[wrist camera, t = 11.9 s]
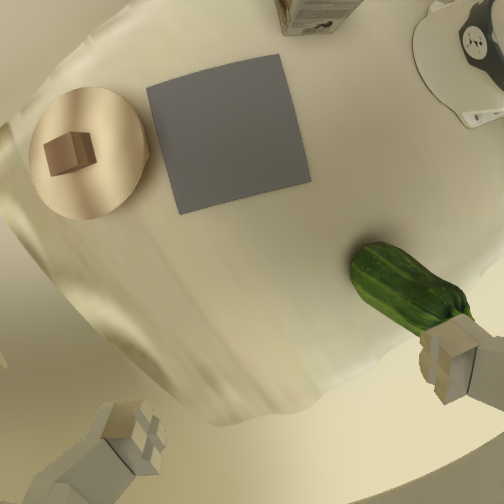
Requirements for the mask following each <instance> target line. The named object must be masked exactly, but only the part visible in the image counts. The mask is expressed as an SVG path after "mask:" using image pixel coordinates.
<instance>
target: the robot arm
mask: <svg viewBox="0 0 504 504" xmlns="http://www.w3.org/2000/svg"><path fill="white" fill-rule="evenodd" d="M413 52H414V58H415V61H416V65H417V67H418V70H419V72H420V74H421V76H422V78H423V80H424V82H425V83H426V85H427V86H428V88H429V89H430V90H431V92H432V93H433V94H434V95H435V96H436V97H437V98H438V99H439V100H440V101H441V102H442V103H443V104H445V105H446V106H448V107H449V108H450V109H452V110H453V111H454V112H455V113H456V114H457V116H458V117H459V119H460V120H461V121H462V123H463V124H464V125H465V126H466V127H467V128H475V127H478V126H480V125H483V124H485V123H487V122H490V121H492V120H495V119H497V118H500V117H502V116H504V0H480V1H478V0H457V1H455V2H452V3H450V4H445V3H442V2H439V1H435V2H432V3H431V4H430V5H429V8H428V13H427V16H426V17H425V18H424V19H423V20H422V21H421V22H420V23H419V24H418V26H417V27H416V29H415V32H414V36H413ZM475 117H476V119H475ZM420 344H421V345H422V346H423V347H424V348H423V349H422V351H421V353H420V354H419V365H420V369H421V373H422V375H423V377H424V379H425V380H426V381H427V383H430V384H433V385H435V389H434V392H435V393H436V395H437V396H438V397H439V399H440V400H441V402H442V403H443V404H444V405H446V404H448V403H450V402H453V401H455V400H457V399H459V398H461V397H463V396H465V395H467V394H468V396H470V397H472V398H474V399H476V400H478V401H481V402H483V403H485V404H488V405H490V406H493V407H495V408H497V409H499V410H501V411H504V337H500V336H496V337H495V338H493V337H492V336H491V335H490V334H489V333H487V332H486V331H485V330H484V329H483V328H481V327H480V326H479V325H478V324H477V323H475V322H474V321H473V320H472V319H471V318H469V317H468V316H467V315H465V314H460V315H458V316H456V317H454V318H451V319H449V320H448V321H446V322H443V323H441V324H438V325H436V326H434V327H431V328H429V329H426V330H424V331H422V332H421V335H420ZM153 411H154V408H153V407H152V405H151V404H150V402H149V401H146V400H139V401H126V402H117V403H104V404H103V405H101V406H100V408H99V410H98V413H97V415H96V417H95V419H94V422H93V424H92V426H91V428H90V431H89V433H88V435H87V438H86V439H81V440H80V441H79V442H78V443H76V444H75V445H74V446H73V447H71V448H70V449H69V450H67V451H66V452H65V453H64V454H62V455H61V456H60V457H59V458H57V459H56V460H55V461H53V462H52V463H51V464H50V465H48V466H47V467H46V468H44V469H43V470H42V471H41V472H39V473H38V474H37V475H35V476H34V477H33V479H32V481H31V483H30V486H29V488H28V490H27V492H26V494H25V497H24V499H23V501H22V503H21V504H114V503H115V502H116V501H117V499H118V498H119V497H120V495H122V493H123V492H124V491H125V490H126V489H127V487H128V486H129V485H130V484H131V482H132V481H133V480H134V479H135V476H148V475H160V474H161V469H162V463H163V457H162V456H161V454H160V452H161V451H162V450H163V449H164V448H165V447H166V441H167V439H166V431H165V428H164V425H163V423H162V422H161V420H160V419H159V418H157V417H156V416H154V415H153ZM0 504H16V503H13V502H10V501H7V500H4V499H1V498H0ZM349 504H504V432H502V433H501V434H499V435H498V436H496V437H495V438H493V439H492V440H490V441H489V442H487V443H485V444H483V445H482V446H480V447H478V448H477V449H475V450H473V451H471V452H470V453H468V454H466V455H464V456H462V457H461V458H459V459H457V460H455V461H453V462H451V463H449V464H448V465H446V466H443V467H441V468H440V469H437V470H435V471H433V472H431V473H429V474H426V475H424V476H422V477H420V478H417V479H415V480H413V481H410V482H408V483H406V484H403V485H401V486H398V487H396V488H393V489H390V490H388V491H385V492H382V493H380V494H377V495H374V496H371V497H368V498H365V499H362V500H359V501H355V502H353V503H349Z"/></svg>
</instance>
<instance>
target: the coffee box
mask: <svg viewBox="0 0 504 504" xmlns="http://www.w3.org/2000/svg"><path fill="white" fill-rule="evenodd" d="M363 1H364V0H275V3H276V7H277V11H278V15H279V19H280V23H281V27H282V32H283V35H284V36H291V35H305V34H329V33H333V32H334V31H335V30H336V29H337V28H338V26H339V25H340V24H341V23H342V22H343V21H344V20H345V19H346V18H347V17H348V16H349V15H350V14H351V13H352V12H353V11H354V10H355V9H356V8H357V7H358V6H359V5H360V4H361V3H362V2H363Z"/></svg>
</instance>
